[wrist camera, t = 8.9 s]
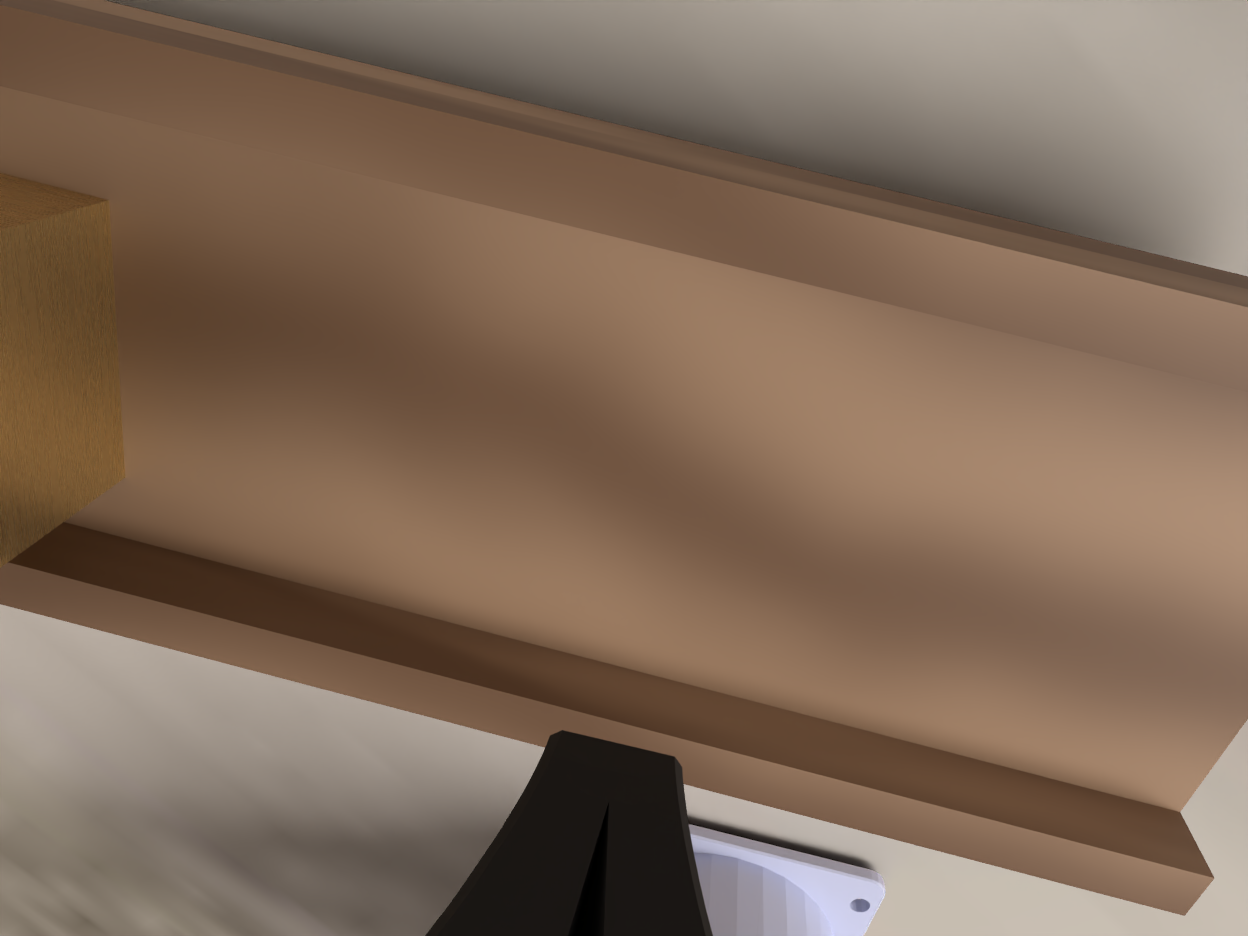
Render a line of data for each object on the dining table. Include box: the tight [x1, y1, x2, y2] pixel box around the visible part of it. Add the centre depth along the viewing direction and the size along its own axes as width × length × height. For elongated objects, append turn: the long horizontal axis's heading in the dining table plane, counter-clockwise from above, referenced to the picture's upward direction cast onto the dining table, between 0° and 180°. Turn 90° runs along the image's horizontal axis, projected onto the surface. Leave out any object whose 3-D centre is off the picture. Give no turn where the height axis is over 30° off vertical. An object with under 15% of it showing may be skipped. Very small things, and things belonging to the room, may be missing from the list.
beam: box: [0, 0, 1248, 916], centre depth 15 cm, size 10×28×3 cm, turn 78°
